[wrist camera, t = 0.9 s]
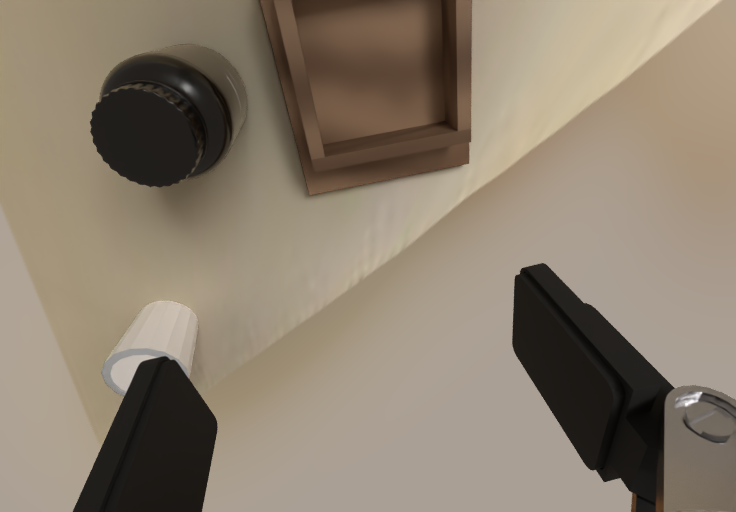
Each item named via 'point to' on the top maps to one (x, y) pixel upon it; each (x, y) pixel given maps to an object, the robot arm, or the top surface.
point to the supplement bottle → (169, 114)
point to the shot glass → (152, 342)
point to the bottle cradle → (374, 86)
